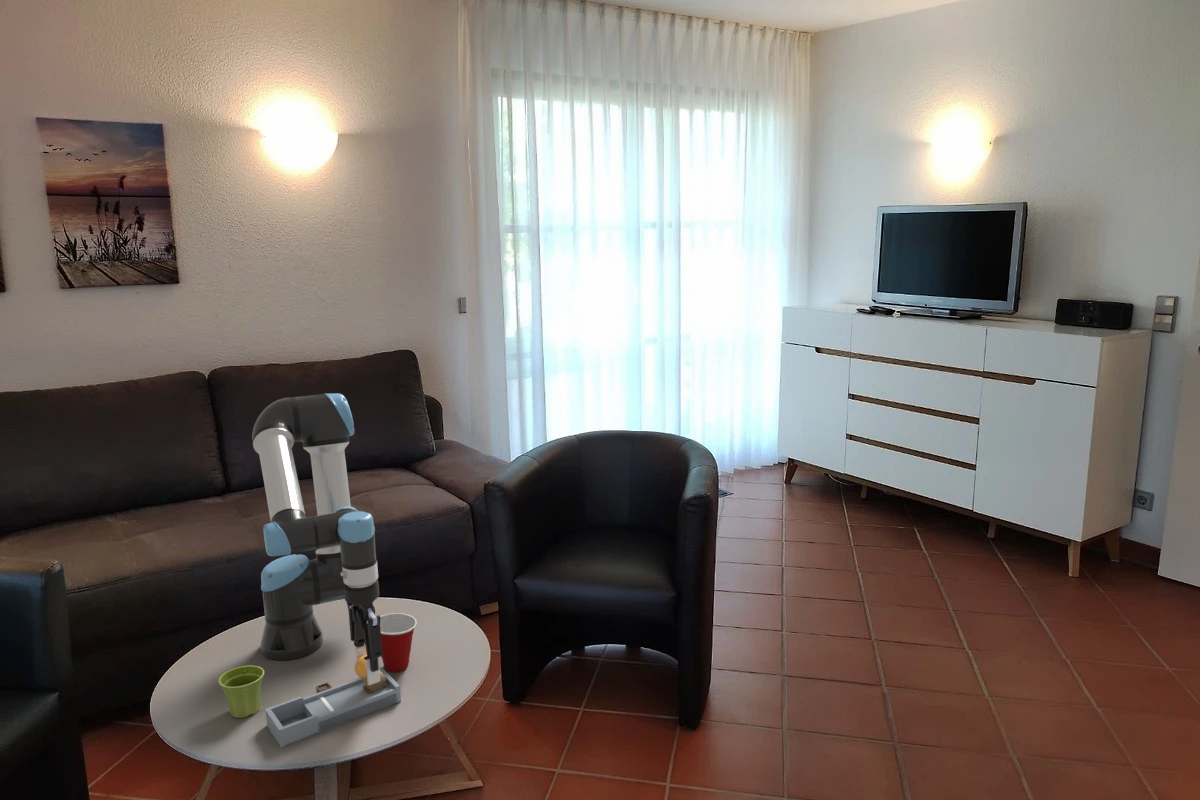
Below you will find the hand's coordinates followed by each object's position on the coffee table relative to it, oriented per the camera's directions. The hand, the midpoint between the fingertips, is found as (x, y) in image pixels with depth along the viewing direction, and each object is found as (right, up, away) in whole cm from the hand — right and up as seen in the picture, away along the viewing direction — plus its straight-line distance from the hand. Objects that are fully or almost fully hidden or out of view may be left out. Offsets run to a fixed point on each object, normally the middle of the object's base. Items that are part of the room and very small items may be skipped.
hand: (368, 677), depth 190 cm
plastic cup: (+3, -3, +17) cm, 17 cm away
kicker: (+1, -3, +2) cm, 4 cm away
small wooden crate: (-11, -6, +4) cm, 13 cm away
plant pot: (-28, -7, -1) cm, 28 cm away
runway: (-7, -7, -3) cm, 10 cm away
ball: (0, +3, -1) cm, 3 cm away
